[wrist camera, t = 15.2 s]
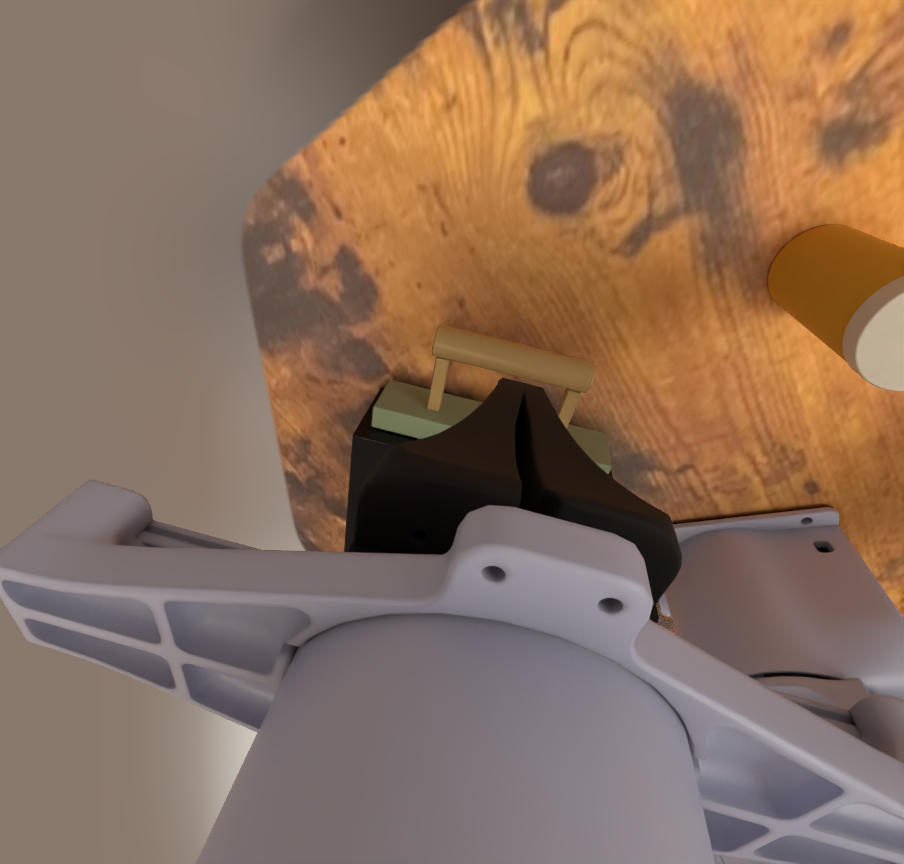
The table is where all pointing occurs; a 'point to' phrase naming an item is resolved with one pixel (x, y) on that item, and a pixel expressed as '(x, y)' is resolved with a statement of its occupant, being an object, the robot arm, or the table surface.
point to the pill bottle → (847, 297)
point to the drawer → (437, 411)
